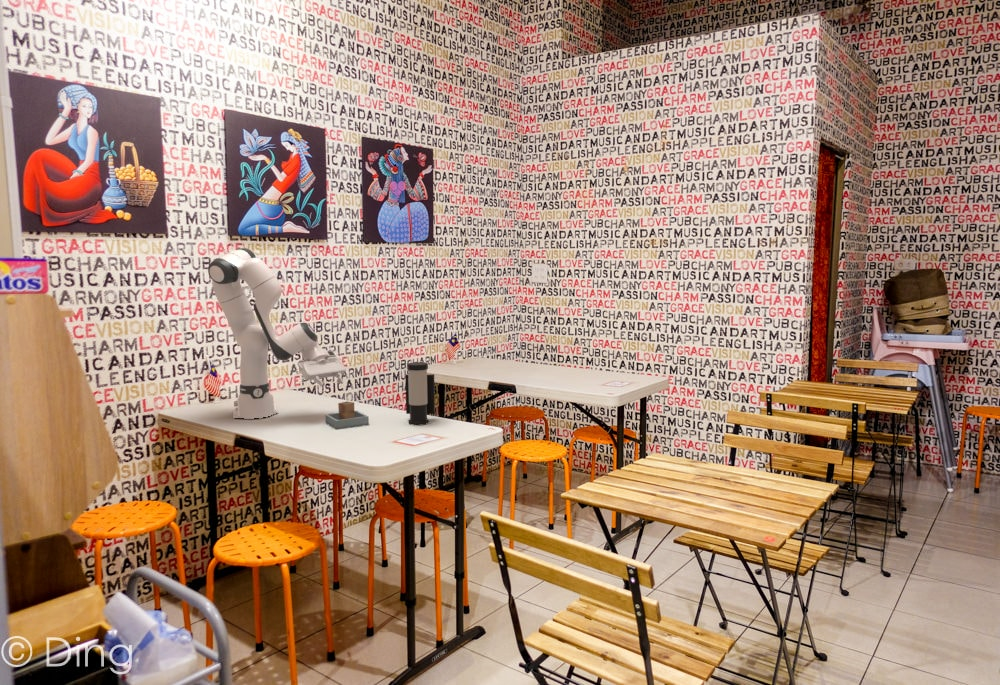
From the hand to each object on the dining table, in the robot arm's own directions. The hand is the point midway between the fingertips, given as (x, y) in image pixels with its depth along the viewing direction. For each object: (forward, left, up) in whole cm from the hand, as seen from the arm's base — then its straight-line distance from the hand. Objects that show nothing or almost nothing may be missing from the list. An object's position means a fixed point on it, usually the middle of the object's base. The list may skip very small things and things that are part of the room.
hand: (331, 384), depth 286 cm
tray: (+8, +3, -16) cm, 18 cm away
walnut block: (+8, +3, -15) cm, 17 cm away
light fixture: (+22, +29, -16) cm, 40 cm away
